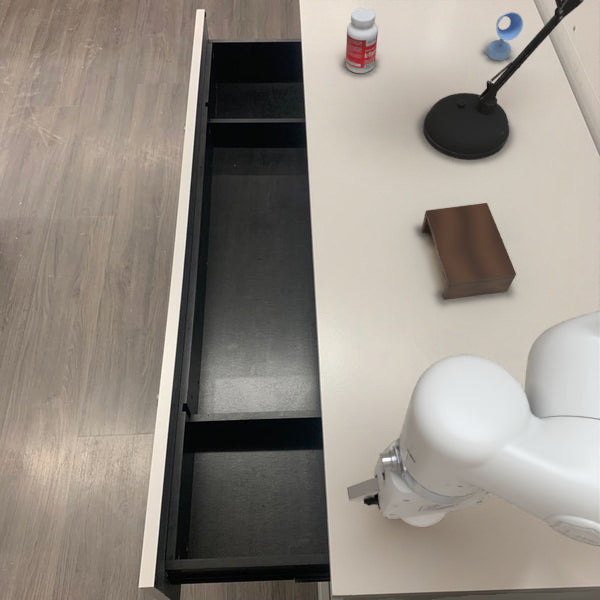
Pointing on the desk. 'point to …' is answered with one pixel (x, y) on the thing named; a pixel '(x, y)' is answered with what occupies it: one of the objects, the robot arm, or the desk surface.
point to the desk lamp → (482, 107)
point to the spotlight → (505, 37)
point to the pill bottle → (361, 41)
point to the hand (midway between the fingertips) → (417, 498)
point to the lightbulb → (424, 519)
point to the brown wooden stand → (469, 250)
